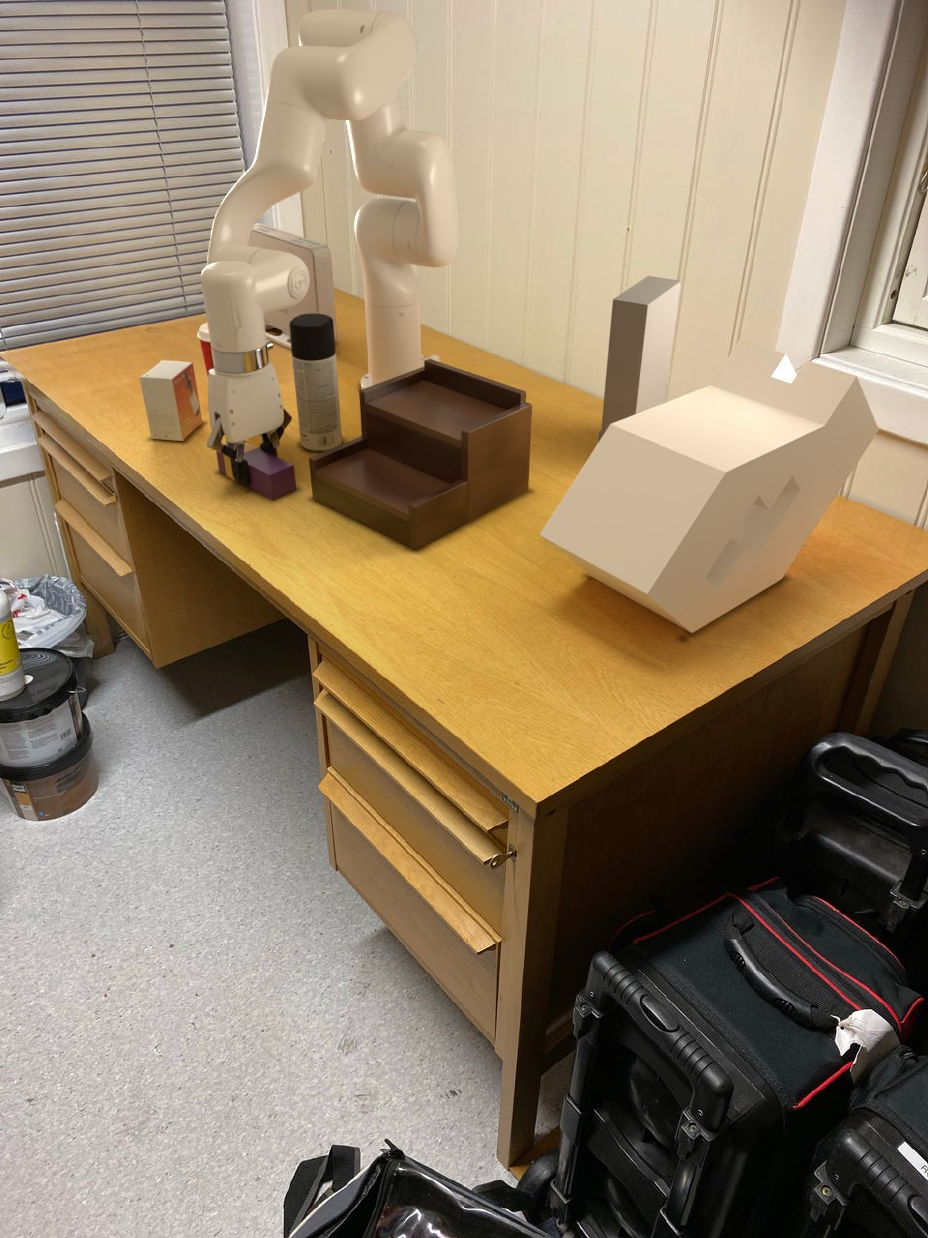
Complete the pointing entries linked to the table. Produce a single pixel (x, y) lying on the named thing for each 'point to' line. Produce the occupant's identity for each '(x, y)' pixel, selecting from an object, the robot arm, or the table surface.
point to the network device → (319, 272)
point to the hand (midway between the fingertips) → (256, 475)
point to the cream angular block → (715, 485)
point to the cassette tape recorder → (639, 348)
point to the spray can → (316, 381)
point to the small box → (171, 400)
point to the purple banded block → (263, 472)
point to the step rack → (429, 454)
